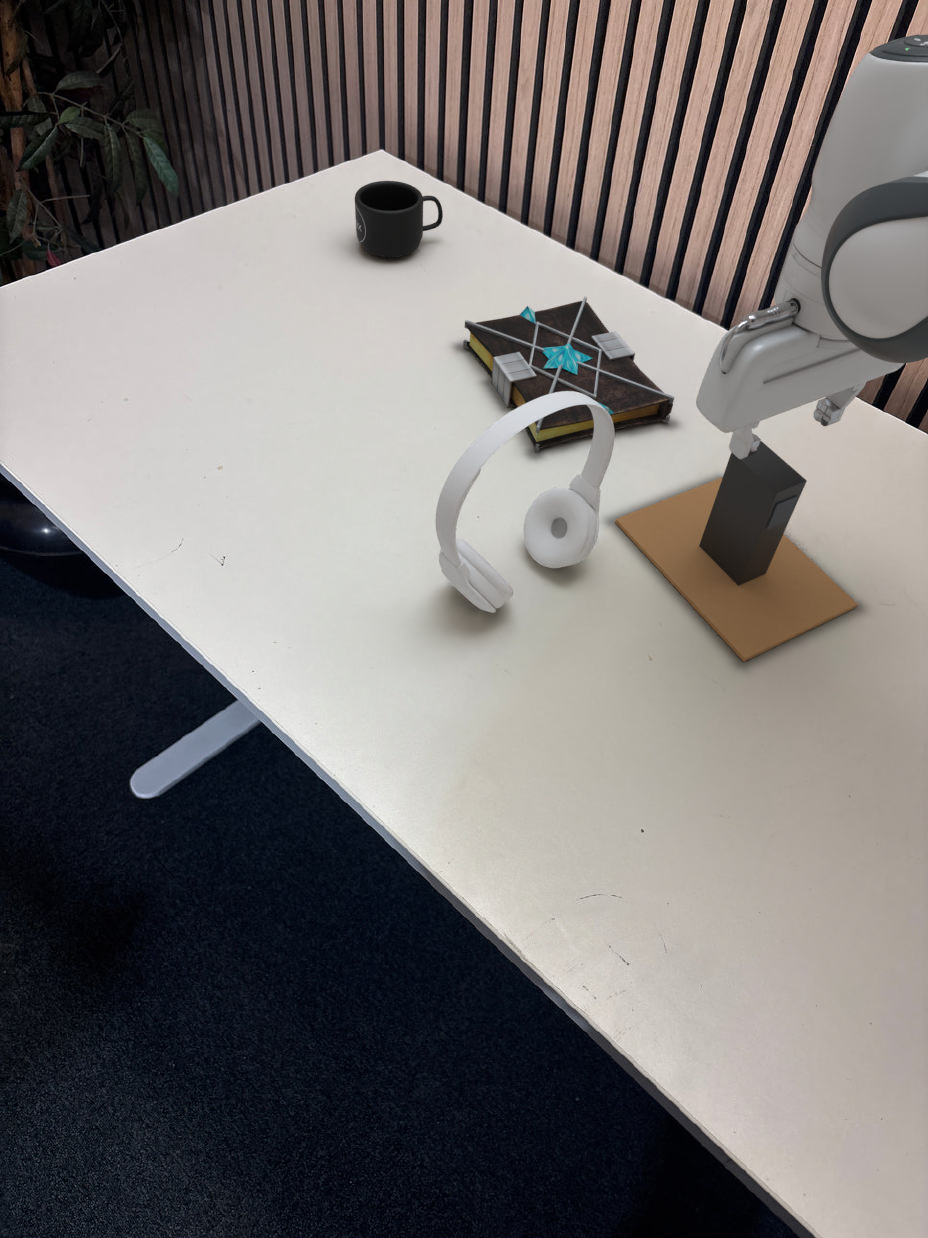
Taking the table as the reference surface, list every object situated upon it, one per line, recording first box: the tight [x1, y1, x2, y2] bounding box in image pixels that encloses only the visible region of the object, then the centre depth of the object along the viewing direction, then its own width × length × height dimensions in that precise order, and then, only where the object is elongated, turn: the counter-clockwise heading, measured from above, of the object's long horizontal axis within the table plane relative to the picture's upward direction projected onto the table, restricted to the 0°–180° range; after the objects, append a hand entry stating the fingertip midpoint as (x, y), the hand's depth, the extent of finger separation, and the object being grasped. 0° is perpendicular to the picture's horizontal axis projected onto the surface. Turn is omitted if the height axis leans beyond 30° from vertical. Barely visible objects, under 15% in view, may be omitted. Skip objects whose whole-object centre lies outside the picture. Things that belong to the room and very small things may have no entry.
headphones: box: [435, 391, 616, 614], centre depth 80 cm, size 7×18×20 cm, turn 128°
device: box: [699, 440, 807, 586], centre depth 85 cm, size 6×4×12 cm, turn 29°
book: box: [462, 295, 675, 452], centre depth 105 cm, size 22×17×5 cm
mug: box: [354, 180, 444, 258], centre depth 123 cm, size 12×9×7 cm
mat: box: [614, 476, 858, 662], centre depth 90 cm, size 20×14×1 cm
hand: (784, 436), depth 77 cm, fingers open, 8 cm apart
